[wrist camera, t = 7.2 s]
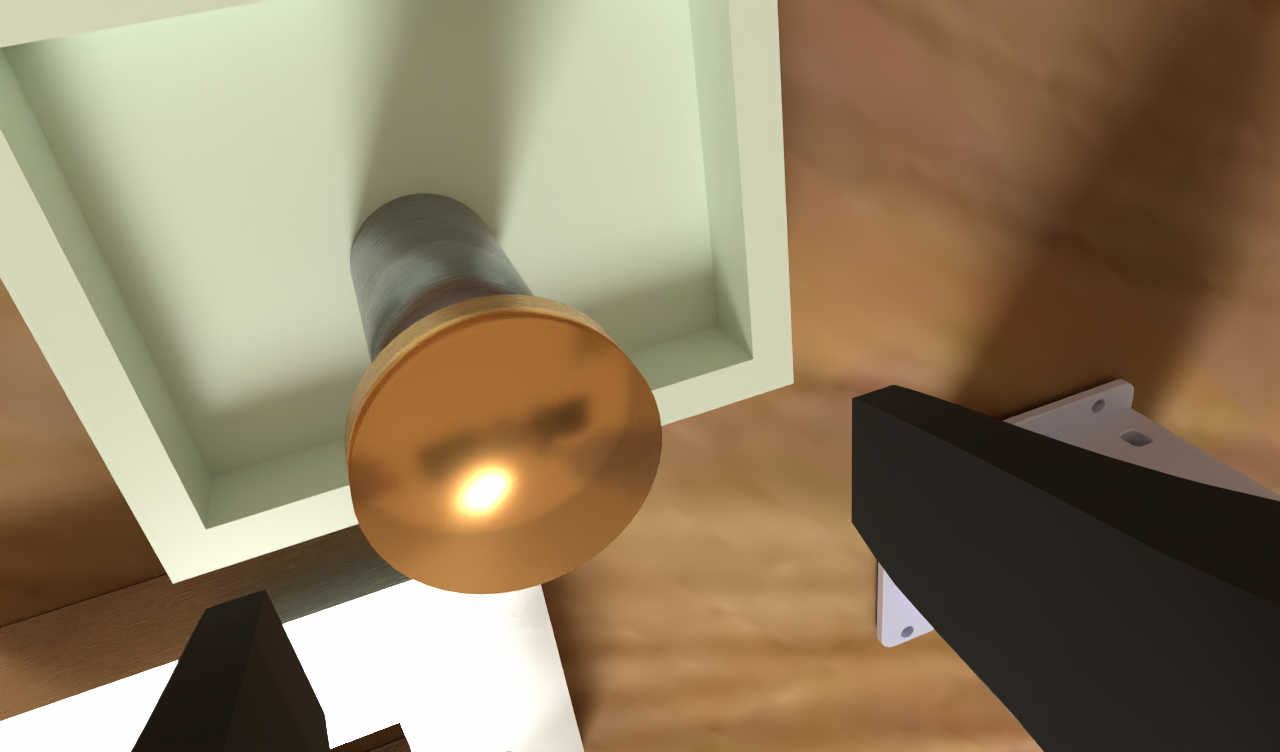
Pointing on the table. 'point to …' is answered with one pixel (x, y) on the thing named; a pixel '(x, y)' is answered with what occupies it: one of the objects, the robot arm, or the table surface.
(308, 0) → the tray
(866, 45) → the table surface
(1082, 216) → the table surface
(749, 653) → the table surface
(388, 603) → the block
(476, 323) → the copper-topped gray cylinder
